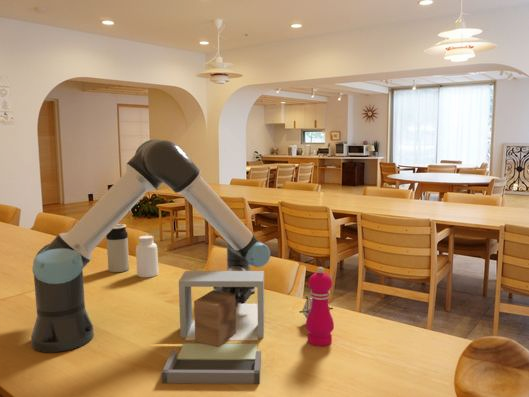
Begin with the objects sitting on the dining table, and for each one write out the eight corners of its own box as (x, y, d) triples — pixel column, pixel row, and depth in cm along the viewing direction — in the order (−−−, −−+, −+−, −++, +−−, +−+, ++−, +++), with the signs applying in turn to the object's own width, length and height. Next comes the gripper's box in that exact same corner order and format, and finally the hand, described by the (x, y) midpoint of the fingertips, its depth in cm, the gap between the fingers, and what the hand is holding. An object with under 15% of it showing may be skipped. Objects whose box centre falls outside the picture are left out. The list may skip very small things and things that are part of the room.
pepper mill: (315, 349, 117) (316, 272, 114) (300, 338, 124) (300, 265, 121) (339, 343, 120) (340, 268, 118) (323, 332, 127) (324, 261, 124)
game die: (321, 338, 132) (331, 319, 125) (293, 325, 133) (301, 306, 127) (329, 313, 139) (339, 294, 132) (302, 301, 140) (311, 282, 133)
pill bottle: (132, 276, 177) (130, 238, 175) (145, 270, 185) (144, 233, 182) (150, 279, 174) (148, 240, 172) (162, 273, 182) (161, 235, 180)
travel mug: (133, 269, 187) (131, 225, 185) (117, 274, 181) (115, 228, 178) (120, 266, 192) (117, 223, 189) (104, 270, 185) (101, 226, 182)
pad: (186, 338, 124) (186, 336, 124) (257, 338, 123) (257, 337, 123) (177, 360, 112) (177, 358, 112) (256, 361, 112) (255, 359, 111)
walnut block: (214, 328, 129) (213, 290, 127) (236, 333, 126) (235, 294, 124) (195, 341, 121) (194, 301, 119) (218, 347, 118) (217, 305, 116)
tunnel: (196, 305, 148) (194, 256, 145) (265, 305, 147) (265, 256, 145) (179, 341, 122) (177, 283, 120) (263, 342, 121) (262, 283, 119)
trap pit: (172, 360, 112) (171, 350, 112) (261, 360, 112) (260, 351, 111) (162, 383, 102) (161, 372, 102) (259, 383, 101) (259, 373, 101)
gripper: (256, 292, 150) (253, 322, 127) (216, 292, 150) (205, 322, 127) (256, 270, 149) (253, 295, 125) (215, 270, 149) (204, 295, 126)
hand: (229, 309), depth 126 cm, fingers closed
